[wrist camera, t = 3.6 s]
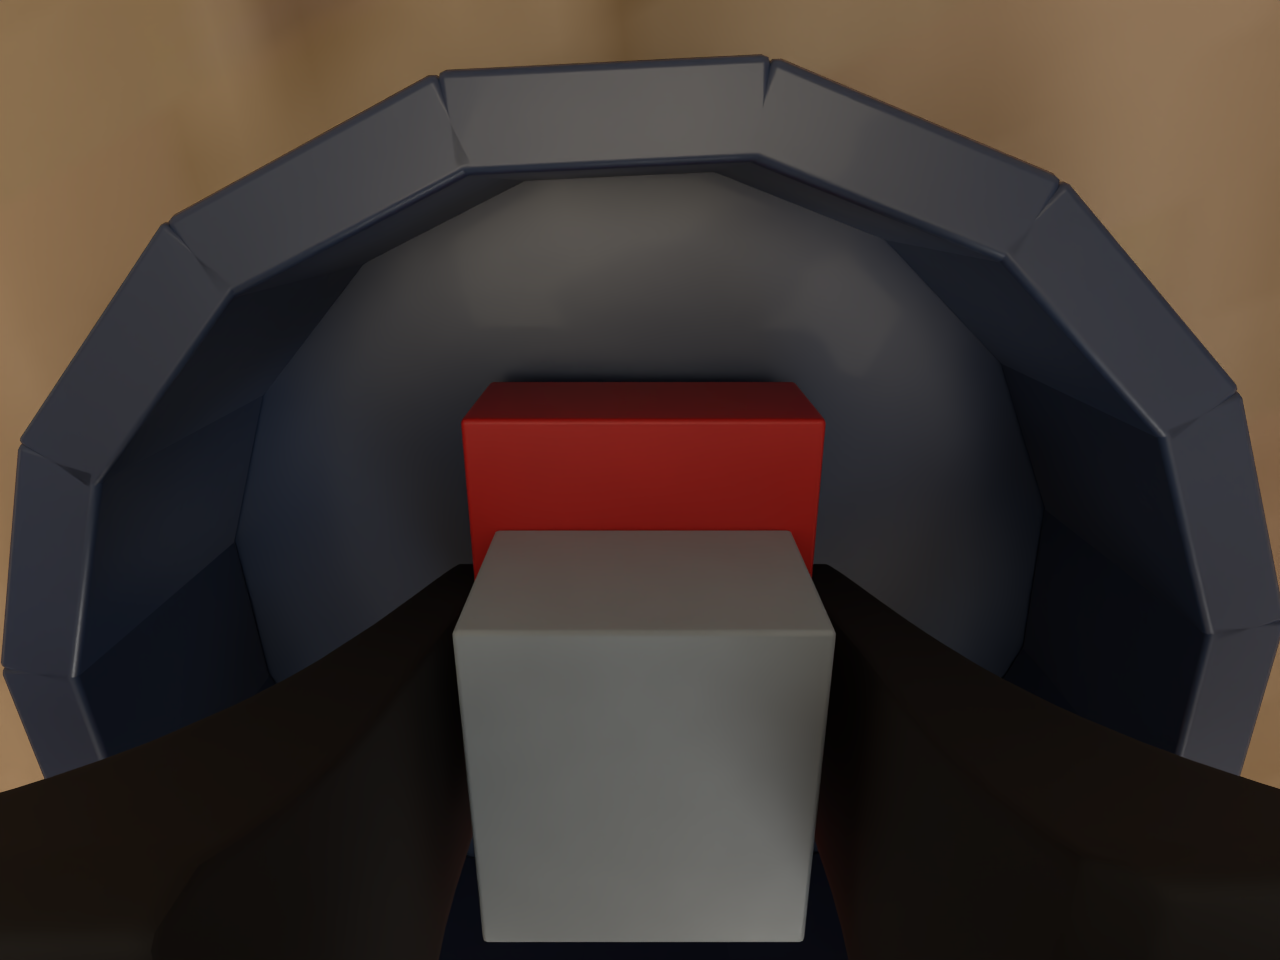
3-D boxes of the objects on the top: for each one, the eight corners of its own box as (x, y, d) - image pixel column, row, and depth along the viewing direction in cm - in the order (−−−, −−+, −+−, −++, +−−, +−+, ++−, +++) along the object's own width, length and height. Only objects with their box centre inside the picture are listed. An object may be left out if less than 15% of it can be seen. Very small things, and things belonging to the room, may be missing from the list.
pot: (300, -67, 9) (68, -246, 5) (1255, 323, 11) (1582, 393, 7) (153, 781, 14) (-30, 1002, 10) (842, 965, 15) (907, 1216, 12)
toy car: (498, 371, 11) (398, 494, 6) (787, 371, 11) (889, 494, 6) (525, 775, 13) (468, 1065, 9) (759, 775, 13) (818, 1063, 9)
